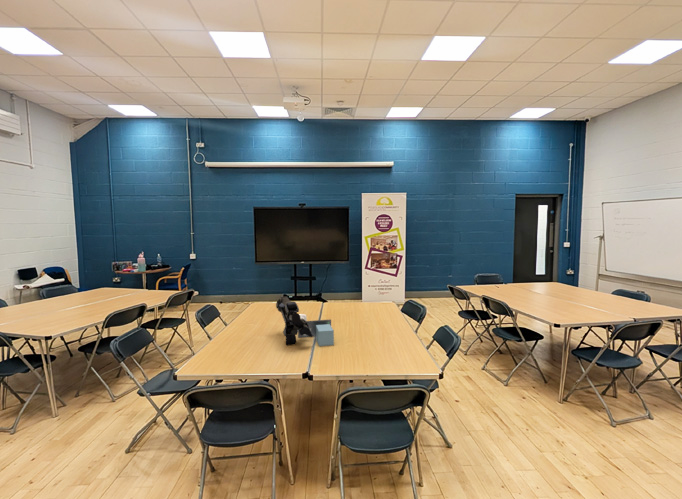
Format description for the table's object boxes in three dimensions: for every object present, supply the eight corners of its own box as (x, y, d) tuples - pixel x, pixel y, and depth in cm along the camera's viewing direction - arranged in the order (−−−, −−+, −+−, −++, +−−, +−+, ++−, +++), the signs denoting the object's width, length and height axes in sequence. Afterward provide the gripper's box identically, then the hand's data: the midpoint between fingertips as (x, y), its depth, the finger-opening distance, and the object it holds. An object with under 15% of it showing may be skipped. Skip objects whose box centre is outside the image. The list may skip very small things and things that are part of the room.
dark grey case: (300, 348, 204) (300, 330, 203) (297, 336, 228) (297, 320, 227) (345, 344, 210) (345, 327, 210) (337, 333, 234) (337, 317, 234)
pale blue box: (318, 346, 207) (318, 331, 206) (316, 339, 220) (315, 325, 220) (333, 345, 209) (333, 330, 208) (329, 337, 222) (329, 324, 222)
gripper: (285, 324, 217) (301, 338, 220) (287, 333, 199) (304, 348, 202) (297, 312, 218) (312, 326, 221) (299, 320, 200) (316, 335, 203)
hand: (311, 334), depth 212 cm, fingers open, 9 cm apart
